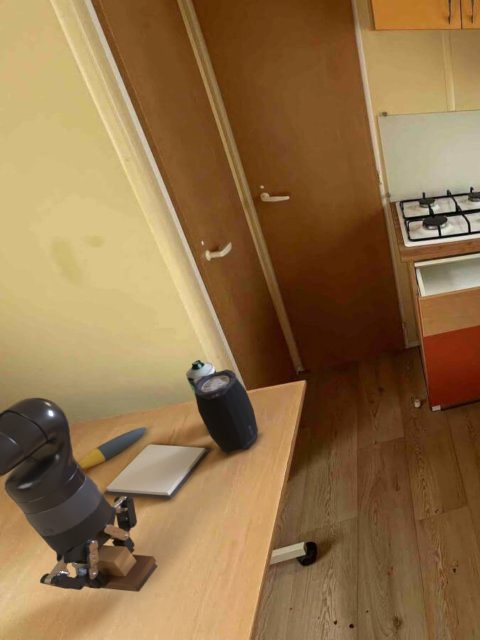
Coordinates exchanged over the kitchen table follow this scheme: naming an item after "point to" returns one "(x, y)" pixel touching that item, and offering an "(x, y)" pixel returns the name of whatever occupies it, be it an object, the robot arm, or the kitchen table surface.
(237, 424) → the portable speaker
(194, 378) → the spray can
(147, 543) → the kitchen table surface
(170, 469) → the tile
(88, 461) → the paintbrush
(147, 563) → the two-tone stacked block
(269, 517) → the kitchen table surface
